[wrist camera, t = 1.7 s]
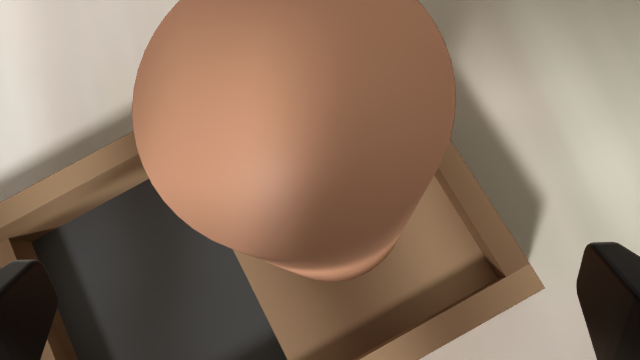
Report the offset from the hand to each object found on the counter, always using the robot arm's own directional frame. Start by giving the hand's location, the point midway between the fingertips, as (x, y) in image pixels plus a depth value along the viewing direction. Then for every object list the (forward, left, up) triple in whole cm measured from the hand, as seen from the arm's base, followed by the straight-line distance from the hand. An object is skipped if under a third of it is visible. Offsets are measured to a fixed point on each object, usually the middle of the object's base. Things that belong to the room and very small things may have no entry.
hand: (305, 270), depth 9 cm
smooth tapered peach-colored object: (+2, -1, -8) cm, 9 cm away
